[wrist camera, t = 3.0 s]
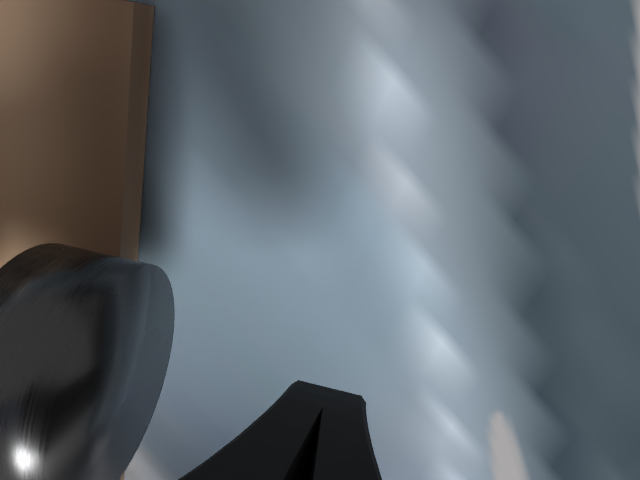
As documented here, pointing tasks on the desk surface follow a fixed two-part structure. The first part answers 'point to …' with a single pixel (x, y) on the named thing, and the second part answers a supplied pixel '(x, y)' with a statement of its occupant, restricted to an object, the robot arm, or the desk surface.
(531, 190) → the desk surface
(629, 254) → the desk surface
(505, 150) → the desk surface
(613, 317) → the desk surface
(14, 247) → the base board
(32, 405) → the shaft
